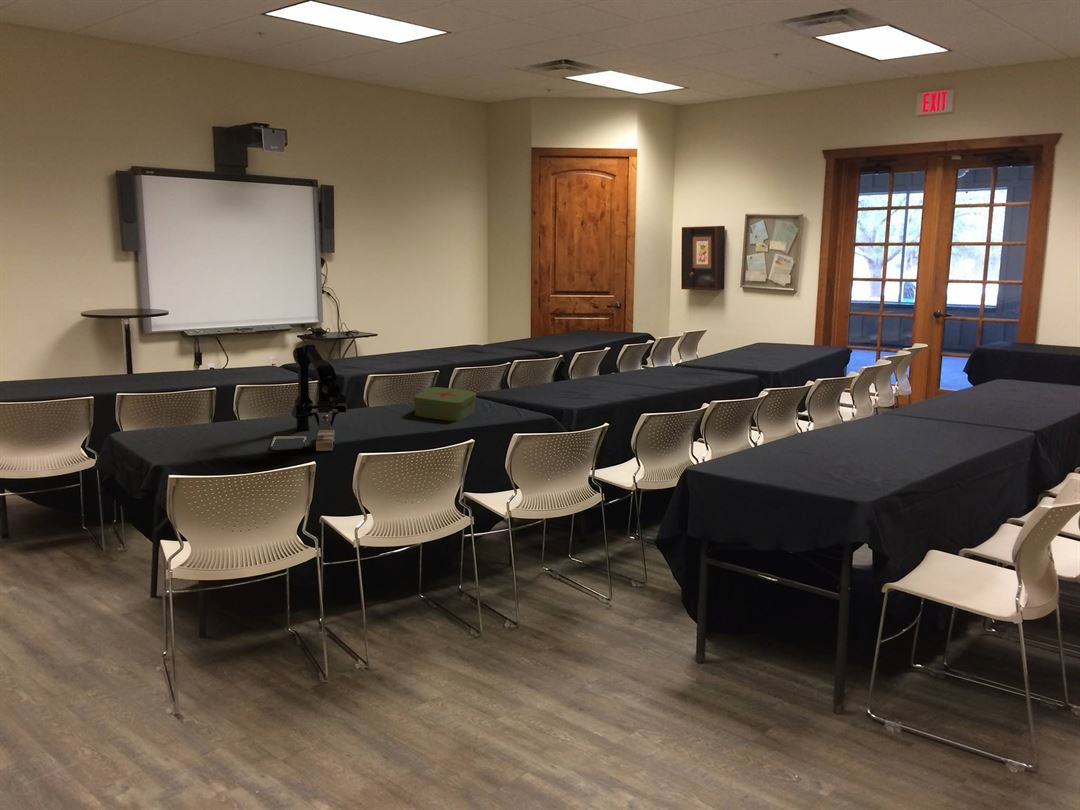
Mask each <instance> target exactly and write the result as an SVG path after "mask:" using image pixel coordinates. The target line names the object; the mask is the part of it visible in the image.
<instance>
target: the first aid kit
mask: <svg viewBox="0 0 1080 810" xmlns="http://www.w3.org/2000/svg"><path fill="white" fill-rule="evenodd" d="M476 399H477V393H476V392H475V391H471V390H464V389H457V388H456V389H455V388H448V387H442V386H441V387H439V386H434V387H429V388H428V389H426V390H424V391H421V392H420V393H417V394H415V395H414V396H413V403H414V404H415V405H414V415H415V416H417V417H420V418H429V419H435V420H443V421H449V422H450V421H451V422H459V421H461V420H463V419H465V418H466V417H468V416H469V415H471V414H472V413H474V412H475V400H476Z"/></svg>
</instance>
